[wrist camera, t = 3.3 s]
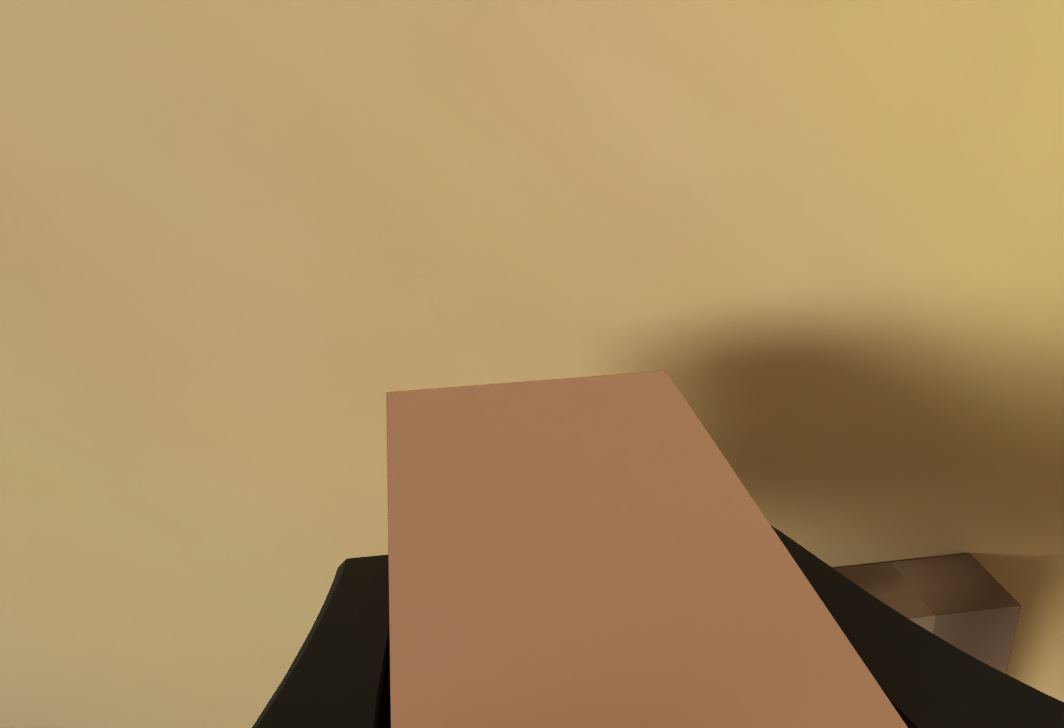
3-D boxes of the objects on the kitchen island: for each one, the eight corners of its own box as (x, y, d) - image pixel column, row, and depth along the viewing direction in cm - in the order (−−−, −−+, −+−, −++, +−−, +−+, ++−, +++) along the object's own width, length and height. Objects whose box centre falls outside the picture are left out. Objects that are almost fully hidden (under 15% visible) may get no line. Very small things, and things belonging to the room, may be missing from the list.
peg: (665, 370, 14) (910, 730, 7) (656, 597, 15) (850, 1053, 9) (385, 392, 13) (391, 800, 7) (406, 624, 15) (425, 1127, 9)
